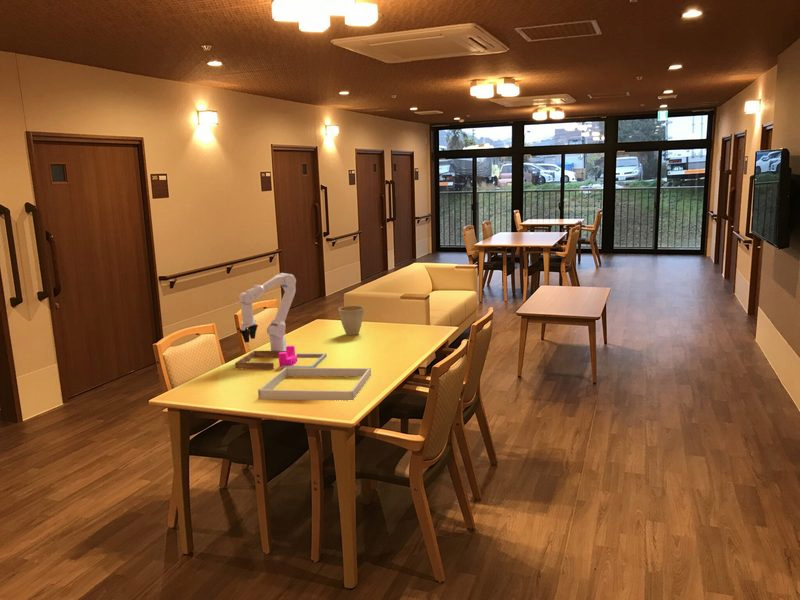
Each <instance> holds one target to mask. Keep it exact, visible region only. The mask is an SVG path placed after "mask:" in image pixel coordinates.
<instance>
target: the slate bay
mask: <svg viewBox="0 0 800 600" xmlns="http://www.w3.org/2000/svg"><path fill="white" fill-rule="evenodd" d="M295 355H297V358H317V360H316V361H315V362H314V363H312V364H311V365H294V366H281V368H280V369H281V370H283V369H284V368H285V367H286V368H317V366H318V365H319V364H320V363H321V362H322V361H323V360H324V359H325V358H327V356H328V355H327V353H304V352H303V353H295Z"/></svg>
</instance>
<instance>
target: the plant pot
mask: <svg viewBox="0 0 800 600" xmlns="http://www.w3.org/2000/svg"><path fill="white" fill-rule="evenodd" d="M364 311H365V309H364V306H362V305H361V306H360V305H347V306H340V307H339V308H338V313H339V318H340V321H341V324H342V328H343V329H344V332H345V335H347V336H349V335H354V336H357V335H356V334H358V335H359V334H360V331H361V327H362V322H363V317H364Z"/></svg>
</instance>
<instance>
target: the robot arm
mask: <svg viewBox="0 0 800 600" xmlns="http://www.w3.org/2000/svg"><path fill="white" fill-rule="evenodd" d="M296 283H297V279H296V277H295V276H294V274H292V273H285V272H280V273H278V274H276V275H274V277H272V278H270V279H269V280H267V281H266V282H264V283H263V284H262V285H260V284H254V285H253V287H252V288H249V289H247V290H246V292H240V294H239V295H238V297H237V300H238V301H239V303H240V308H241V309H240V311H241V323H240V328H239V333H240V334H241V335H242V339H243V342H244V343H250V340H254V339H256V334H257V333H256V332H257V329H258V327H259V325H258V324H256V323H257V322H256V320H254V319H255V318H254V311H253V302H254V301H255V300H257V299H258V298H259V297H261V296H263V295H264V294H265V291H267V290H269V289H271V288H273V287H275V286H277V285H280V286H281V287H282V289H283V291H284V294H283V296H282V299H281V300H280V301H281V302H280V304H279V306H278V310H277V312H276V315H275V318H274V319H272V321H271V322H270V324H268V326H267V328H266V333H267V335H269V345H270V351H286V347H287V341H286V340H287V339H286V337H285V334H286V327H287V325H286V322H285V321H286V319H287V316H288V313H289V310H290V308H291V305H292V303H293V301H294V297H295V294H296V292H297V289H296Z"/></svg>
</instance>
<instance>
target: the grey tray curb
mask: <svg viewBox="0 0 800 600" xmlns="http://www.w3.org/2000/svg"><path fill="white" fill-rule="evenodd" d="M371 369H372V368H370V367H368V368H367V367H315V368H286V367H285V368H284V369H281V371H279V372H278V373H277V374H276V375H274V376H273V377H272V378H271V379H270V380H269V381H267V382H266V383H265V384H264V385H263V386H261V387H260V388H259V389H258V390H257V395H258V400H281V401H282V400H285V401H287V400H288V401H289V400H291V401H295V400H296V401H335V400H336V401H337V400H338V401H339V400H341V402H343V401H344V402H347V401H348V400H353V401H355V399H356V398H357V396H358V395H359V394H358V393H360V392H361V391H362V389H363V388H364V387H365V385H366V384H367V383H366V381H367V380H368V379H369V377H370V376H371V377H372V370H371ZM318 376H362V377H359V378H360V379H359V380H358V381H357V382H356V383H355V385H354V387H352V389H351V390H327V389H326V390H322V389H321V390H320V389H319V390H315V389H312V390H310V389H309V390H308V389H274V388H276V387H277V386H278V385H279V384H280V383H281V382H283V381H284V380H285V379H286V378H287V377H318ZM371 377H370V378H371ZM369 380H370V379H369ZM369 380H368V381H369ZM368 381H367V382H368ZM365 383H366V384H365ZM364 384H365V385H364ZM363 386H364V387H363ZM362 387H363V388H362ZM361 388H362V389H361ZM360 390H361V391H360ZM359 391H360V392H359ZM357 394H358V395H357ZM356 395H357V396H356ZM355 397H356V398H355ZM354 398H355V399H354ZM342 400H343V401H342ZM345 400H346V401H345ZM348 402H349V401H348Z"/></svg>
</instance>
